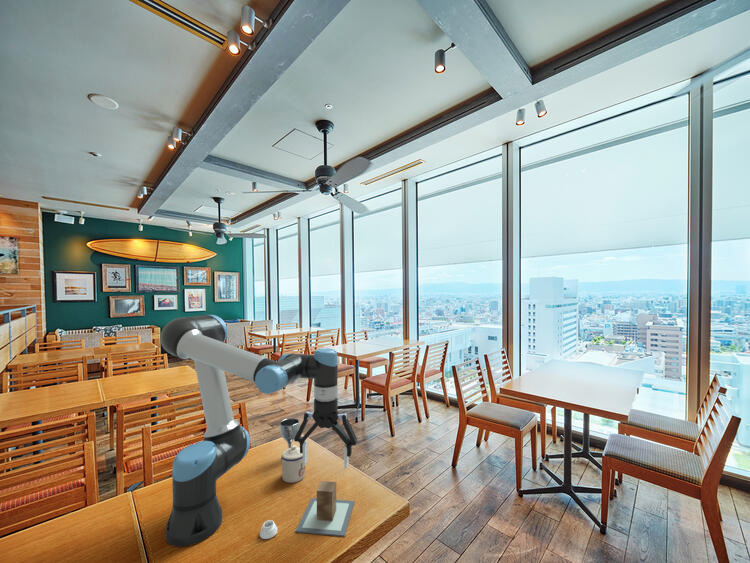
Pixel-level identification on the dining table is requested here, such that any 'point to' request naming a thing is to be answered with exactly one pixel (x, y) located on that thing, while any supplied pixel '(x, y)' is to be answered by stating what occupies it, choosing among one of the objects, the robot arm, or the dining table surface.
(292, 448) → the teacup with lid
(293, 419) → the silver goblet
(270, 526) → the lidless jar
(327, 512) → the block
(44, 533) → the dining table surface
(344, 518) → the coaster
